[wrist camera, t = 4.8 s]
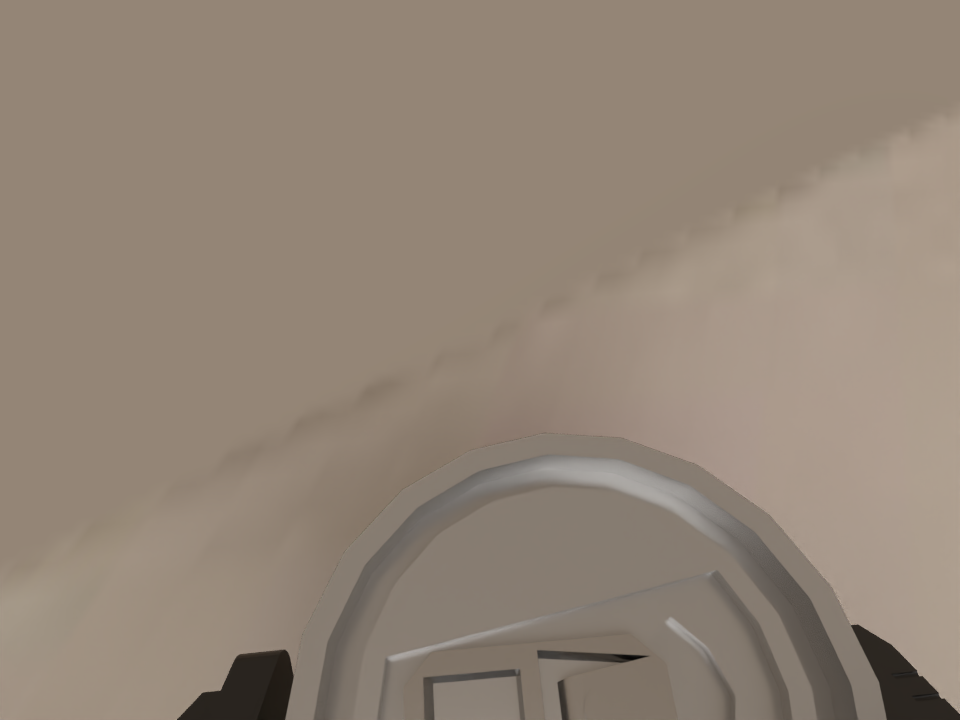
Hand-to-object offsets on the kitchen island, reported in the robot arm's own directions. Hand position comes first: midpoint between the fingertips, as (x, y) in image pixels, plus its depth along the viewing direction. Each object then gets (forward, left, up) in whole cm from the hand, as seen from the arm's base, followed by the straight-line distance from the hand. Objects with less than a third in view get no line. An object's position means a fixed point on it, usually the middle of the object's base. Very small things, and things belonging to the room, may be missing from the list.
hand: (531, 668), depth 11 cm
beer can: (0, +1, -6) cm, 6 cm away
